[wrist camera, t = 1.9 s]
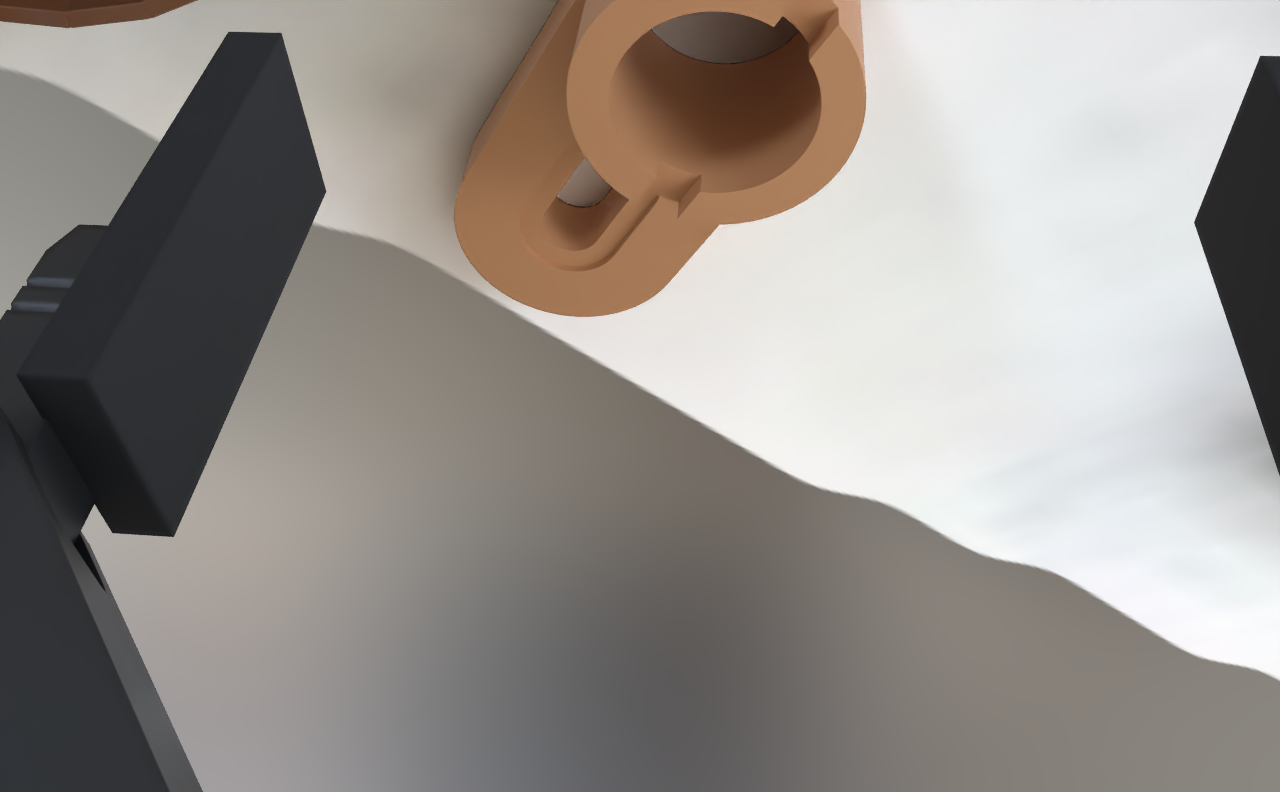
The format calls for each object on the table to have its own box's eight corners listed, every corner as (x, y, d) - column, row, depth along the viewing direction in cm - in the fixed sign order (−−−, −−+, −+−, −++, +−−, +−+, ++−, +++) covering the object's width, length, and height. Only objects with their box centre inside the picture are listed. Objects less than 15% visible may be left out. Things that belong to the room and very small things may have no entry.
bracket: (684, -207, 34) (665, -93, 29) (913, -53, 36) (929, 74, 32) (433, 205, 46) (392, 332, 41) (620, 298, 48) (600, 427, 44)
